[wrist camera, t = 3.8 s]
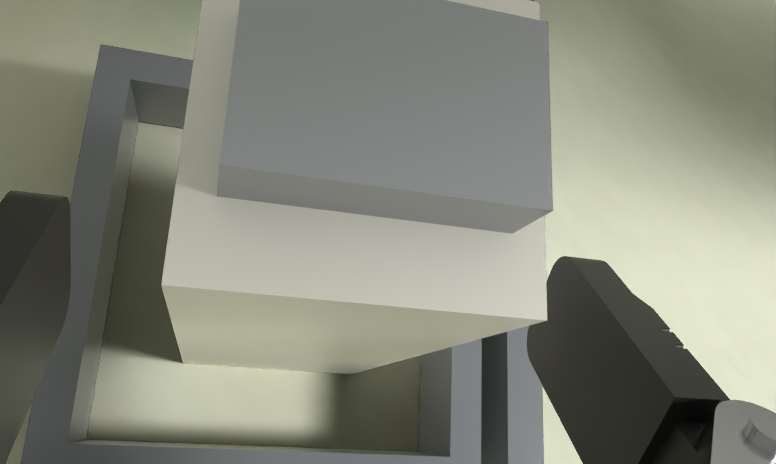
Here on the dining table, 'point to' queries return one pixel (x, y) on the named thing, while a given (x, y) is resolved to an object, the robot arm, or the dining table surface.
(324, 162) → the plug
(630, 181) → the dining table surface
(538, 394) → the panel
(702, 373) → the robot arm
